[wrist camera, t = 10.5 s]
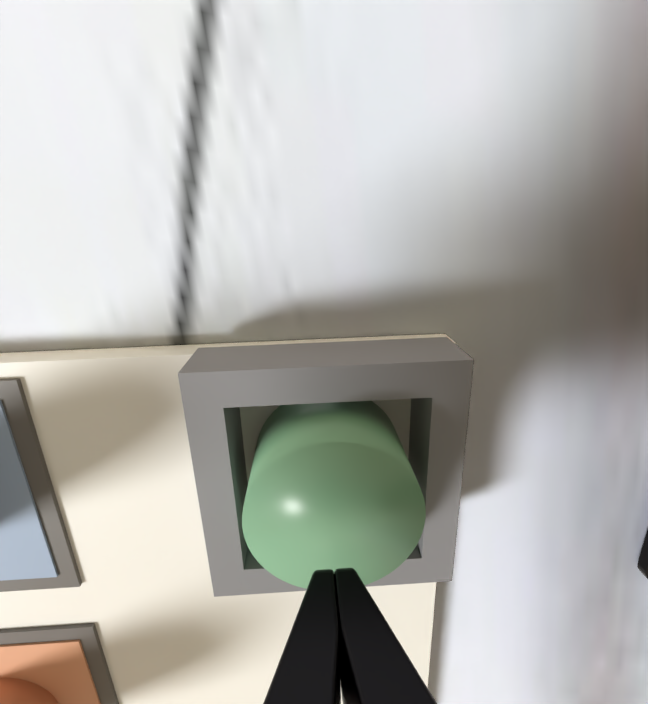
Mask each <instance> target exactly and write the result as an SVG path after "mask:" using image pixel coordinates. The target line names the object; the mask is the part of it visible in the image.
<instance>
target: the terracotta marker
mask: <svg viewBox="0 0 648 704" xmlns="http://www.w3.org/2000/svg"><path fill="white" fill-rule="evenodd" d="M0 704H58V702H57V700H56V699H55V697H54V696H53V695H52V694H51V693H50V692H48V691H47V690H46V689H44V688H43V687H41V686H39V685H37V684H34V683H32V682H29V681H26V680H21V679H16V678H0Z"/></svg>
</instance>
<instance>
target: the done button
mask: <svg viewBox="0 0 648 704" xmlns="http://www.w3.org/2000/svg"><path fill="white" fill-rule="evenodd" d="M425 518H426V508H425V502H424V497H423V494H422V491H421V488H420V486H419V483H418V481H417V479H416V477H415V474H414V472H413V470H412V467H411V465H410V463H409V460H408V458H407V456H406V453H405V451H404V449H403V446H402V444H401V442H400V439H399V437H398V435H397V432H396V430H395V428H394V426H393V424H392V422H391V420H390V418H389V417H388V416H387V414H386V413H385V412H384V411H383V410H382V409H381V408H380V407H379V406H378V405H377V404H375V403H374V402H373V401H353V402H332V403H312V404H292V405H280V406H279V407H278V408H277V409H276V410H274V411H273V412H272V414H271V415H270V416H269V417H268V418H267V420H266V421H265V423H264V425H263V426H262V429H261V431H260V433H259V436H258V440H257V444H256V448H255V453H254V458H253V463H252V468H251V472H250V477H249V482H248V487H247V492H246V496H245V501H244V506H243V513H242V529H243V534H244V538H245V541H246V543H247V546H248V548H249V550H250V551H251V553H252V555H253V556H254V557H255V559H256V560H257V561H258V563H259V564H260V565H262V566H263V567H264V568H265V569H266V570H267V571H268V572H270V573H271V574H272V575H274V576H275V577H277V578H279V579H281V580H282V581H285V582H287V583H289V584H292V585H294V586H298V587H301V588H305V589H307V587H308V585H309V582H310V579H311V577H312V574H313V572H314V571H315V570H323V569H332V570H333V571H335V570H336V569H338V568H353V569H355V571H356V572H357V574H358V575H359V577H360V578H361V580H362V582H363V583H364V585H367V584H370V583H372V582H374V581H377V580H379V579H381V578H383V577H384V576H386V575H388V574H389V573H391V572H392V571H394V570H395V569H396V568H398V567H399V566H400V565H401V564H402V563H403V562H404V561H405V560H406V559H407V558H408V557H409V555H410V554H411V553H412V552H413V550H414V549H415V547H416V546H417V544H418V542H419V540H420V537H421V535H422V532H423V529H424V524H425Z"/></svg>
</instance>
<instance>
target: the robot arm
mask: <svg viewBox="0 0 648 704" xmlns="http://www.w3.org/2000/svg"><path fill="white" fill-rule="evenodd" d="M638 569H639V570H640V571H641V572H642V573H643V574H644V575H645V576H646V577H647V578H648V531H647V534H646V537H645V541H644V544H643V547H642V551H641V554H640V558H639V561H638ZM341 692H342V701H343V704H437V703H436V701H435V699H434V698H433V696H432V694H431V693H430V691H429V690H428V688H427V686H426V685H425V683H424V681H423V680H422V678H421V676H420V675H419V673H418V672H417V670H416V668H415V667H414V665H413V663H412V662H411V660H410V658H409V657H408V655H407V654H406V652H405V650H404V649H403V647H402V645H401V644H400V642H399V641H398V639H397V637H396V636H395V634H394V632H393V631H392V629H391V627H390V626H389V624H388V623H387V621H386V619H385V618H384V616H383V614H382V613H381V611H380V609H379V608H378V606H377V605H376V603H375V601H374V600H373V598H372V596H371V595H370V593H369V592H368V590H367V588H366V587H365V585H364V583H363V582H362V580H361V578H360V577H359V575H358V574H357V572H356V571H355V569H353V568H338V569H336V570H335V571H333V570H332V569H323V570H315V571H314V572H313V574H312V577H311V579H310V582H309V585H308V587H307V590H306V592H305V595H304V598H303V600H302V603H301V606H300V608H299V611H298V613H297V616H296V619H295V621H294V624H293V627H292V629H291V632H290V634H289V637H288V640H287V642H286V645H285V648H284V650H283V653H282V655H281V658H280V661H279V663H278V666H277V669H276V671H275V674H274V676H273V679H272V682H271V684H270V687H269V690H268V692H267V695H266V698H265V700H264V703H263V704H341Z"/></svg>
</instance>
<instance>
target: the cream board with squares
mask: <svg viewBox="0 0 648 704" xmlns="http://www.w3.org/2000/svg"><path fill="white" fill-rule="evenodd" d="M473 364H474V359H472V358H471V357H470V356H469V355H468V354H466V353H465V352H464V351H463V350H462V349H461V348H459V347H458V346H457V345H456V342H454V341H453V340H452V339H451V338H450V337H448V336H447V335H446V334H425V335H402V336H379V337H356V338H333V339H310V340H286V341H263V342H240V343H217V344H194V345H171V346H148V347H125V348H101V349H78V350H55V351H32V352H9V353H0V678H16V679H21V680H26V681H29V682H32V683H34V684H37V685H39V686H41V687H43V688H44V689H46V690H47V691H48V692H50V693H51V694H52V695H53V696H54V697H55V699H56V700H57V702H58V704H263V703H264V700H265V698H266V695H267V692H268V690H269V687H270V684H271V682H272V679H273V676H274V674H275V671H276V669H277V666H278V663H279V661H280V658H281V655H282V653H283V650H284V648H285V645H286V642H287V640H288V637H289V634H290V632H291V629H292V627H293V624H294V621H295V619H296V616H297V613H298V611H299V608H300V606H301V603H302V600H303V598H304V595H305V592H306V590H307V589H305V588H301V587H298V586H294V585H292V584H289V583H287V582H285V581H282V580H281V579H279V578H277V577H275V576H274V575H272V574H271V573H270V572H268V571H267V570H266V569H265V568H264V567H263V566H262V565H260V564H259V563H258V561H257V560H256V559H255V557H254V556H253V555H252V553H251V551H250V550H249V548H248V546H247V543H246V541H245V538H244V534H243V529H242V513H243V506H244V501H245V496H246V492H247V487H248V482H249V477H250V472H251V468H252V463H253V458H254V453H255V448H256V444H257V440H258V436H259V433H260V431H261V429H262V426H263V425H264V423H265V421H266V420H267V418H268V417H269V416H270V415H271V414H272V412H273V411H274V410H276V409H277V408H278V407H279V406H280V405H292V404H312V403H332V402H353V401H373V402H374V403H375V404H377V405H378V406H379V407H380V408H381V409H382V410H383V411H384V412H385V413H386V414H387V416H388V417H389V418H390V420H391V422H392V424H393V426H394V428H395V430H396V432H397V435H398V437H399V439H400V442H401V444H402V446H403V449H404V451H405V453H406V456H407V458H408V460H409V463H410V465H411V467H412V470H413V472H414V474H415V477H416V479H417V481H418V483H419V486H420V488H421V491H422V494H423V497H424V502H425V508H426V518H425V524H424V529H423V532H422V535H421V537H420V540H419V542H418V544H417V546H416V547H415V549H414V550H413V552H412V553H411V554H410V555H409V557H408V558H407V559H406V560H405V561H404V562H403V563H402V564H401V565H400V566H399V567H398V568H396V569H395V570H394V571H392V572H391V573H389V574H388V575H386V576H384V577H383V578H381V579H379V580H377V581H374V582H372V583H370V584H367V585H365V587H366V588H367V590H368V592H369V593H370V595H371V596H372V598H373V600H374V601H375V603H376V605H377V606H378V608H379V609H380V611H381V613H382V614H383V616H384V618H385V619H386V621H387V623H388V624H389V626H390V627H391V629H392V631H393V632H394V634H395V636H396V637H397V639H398V641H399V642H400V644H401V645H402V647H403V649H404V650H405V652H406V654H407V655H408V657H409V658H410V660H411V662H412V663H413V665H414V667H415V668H416V670H417V672H418V673H419V675H420V676H421V678H422V680H423V681H424V683H425V685H426V686H427V688H428V676H429V664H430V652H431V640H432V628H433V616H434V604H435V592H436V582H445V581H452V575H453V565H454V555H455V545H456V535H457V525H458V515H459V505H460V495H461V485H462V475H463V465H464V455H465V444H466V434H467V424H468V414H469V404H470V394H471V384H472V374H473ZM341 704H343V701H342V692H341Z"/></svg>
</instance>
